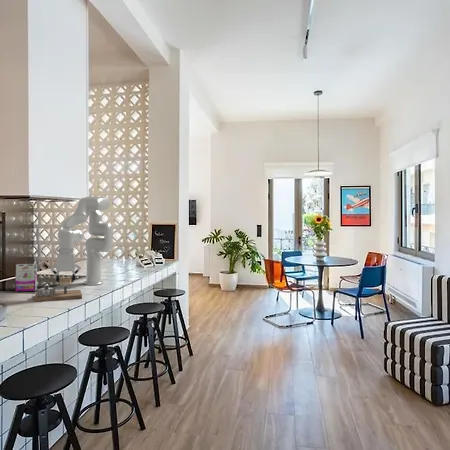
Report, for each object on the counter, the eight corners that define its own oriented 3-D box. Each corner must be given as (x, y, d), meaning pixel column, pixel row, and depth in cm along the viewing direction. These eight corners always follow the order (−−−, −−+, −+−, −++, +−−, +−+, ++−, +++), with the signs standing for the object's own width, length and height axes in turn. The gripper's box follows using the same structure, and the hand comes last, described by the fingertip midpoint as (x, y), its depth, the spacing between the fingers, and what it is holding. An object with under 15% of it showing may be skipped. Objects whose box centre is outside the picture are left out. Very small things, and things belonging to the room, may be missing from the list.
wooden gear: (58, 282, 211) (58, 277, 210) (72, 281, 214) (72, 276, 214) (58, 284, 204) (58, 279, 204) (72, 284, 207) (72, 279, 207)
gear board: (35, 295, 210) (36, 283, 209) (80, 293, 220) (80, 281, 219) (34, 301, 196) (34, 289, 196) (81, 298, 206) (82, 286, 206)
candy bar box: (37, 289, 225) (37, 263, 224) (35, 291, 220) (35, 264, 220) (17, 290, 222) (17, 263, 221) (14, 291, 217) (15, 264, 216)
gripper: (49, 252, 201) (48, 283, 202) (82, 251, 209) (82, 282, 209) (49, 250, 208) (48, 281, 209) (81, 250, 215) (81, 280, 216)
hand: (65, 281), depth 209 cm, fingers closed on wooden gear, 7 cm apart
